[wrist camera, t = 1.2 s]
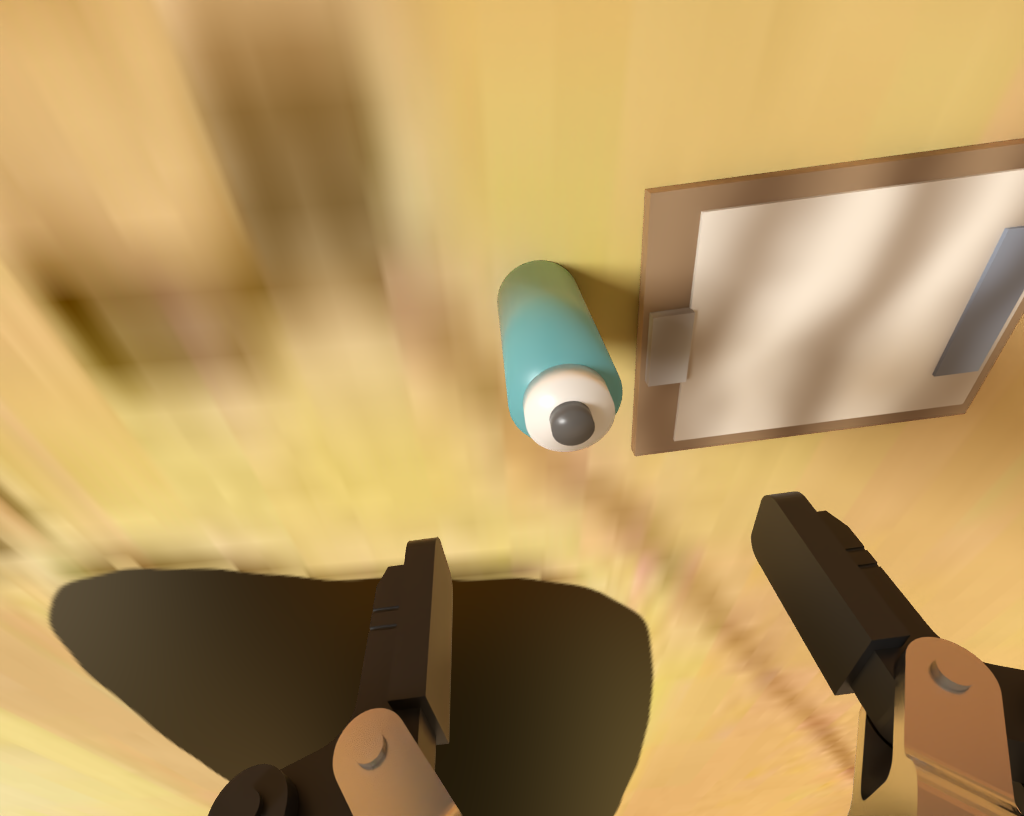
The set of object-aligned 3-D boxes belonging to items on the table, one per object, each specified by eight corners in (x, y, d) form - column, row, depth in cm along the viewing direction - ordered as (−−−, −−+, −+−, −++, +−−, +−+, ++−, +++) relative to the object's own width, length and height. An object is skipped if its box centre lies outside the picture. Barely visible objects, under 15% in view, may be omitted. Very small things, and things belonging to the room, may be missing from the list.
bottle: (577, 255, 22) (637, 368, 14) (579, 331, 25) (632, 466, 17) (492, 266, 22) (504, 386, 14) (502, 341, 25) (518, 480, 17)
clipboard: (1109, 126, 20) (1146, 131, 19) (954, 405, 29) (973, 419, 28) (645, 189, 21) (655, 197, 20) (631, 447, 30) (637, 463, 29)
